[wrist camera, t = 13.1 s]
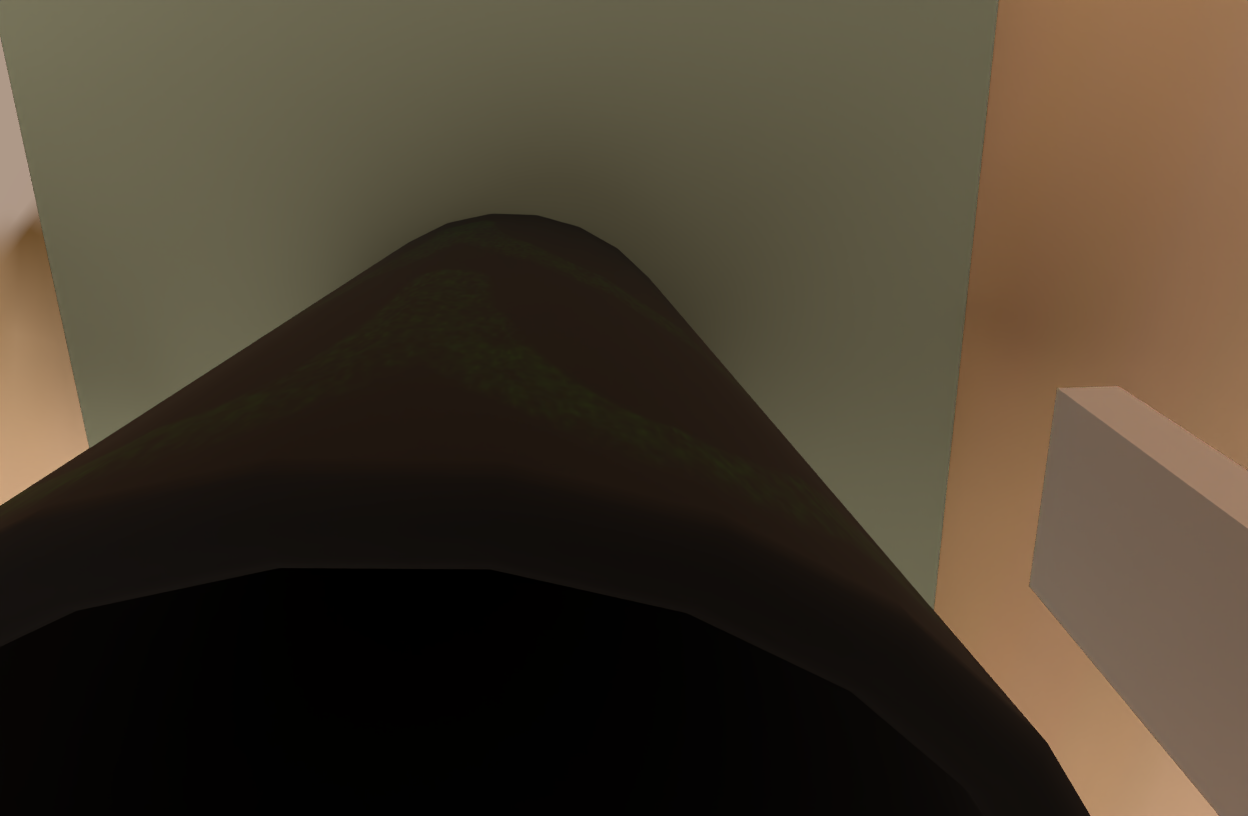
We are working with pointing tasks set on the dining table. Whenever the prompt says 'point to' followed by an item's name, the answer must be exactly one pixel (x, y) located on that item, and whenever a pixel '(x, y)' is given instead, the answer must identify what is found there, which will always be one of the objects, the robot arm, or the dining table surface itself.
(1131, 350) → the dining table surface
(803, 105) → the mat
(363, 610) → the cup
